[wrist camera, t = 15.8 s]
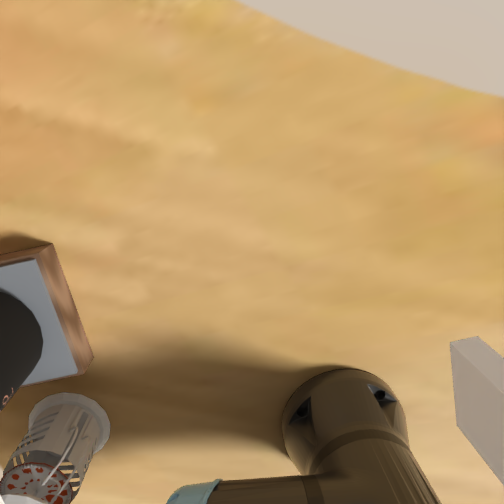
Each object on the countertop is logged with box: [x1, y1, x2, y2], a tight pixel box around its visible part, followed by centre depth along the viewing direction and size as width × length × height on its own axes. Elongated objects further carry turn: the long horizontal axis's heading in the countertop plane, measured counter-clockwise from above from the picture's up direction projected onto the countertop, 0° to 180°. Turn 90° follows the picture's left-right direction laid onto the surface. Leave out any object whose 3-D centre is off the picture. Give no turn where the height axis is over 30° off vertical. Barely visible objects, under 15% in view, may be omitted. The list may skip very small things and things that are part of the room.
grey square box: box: [0, 244, 94, 388], centre depth 45 cm, size 14×14×4 cm
